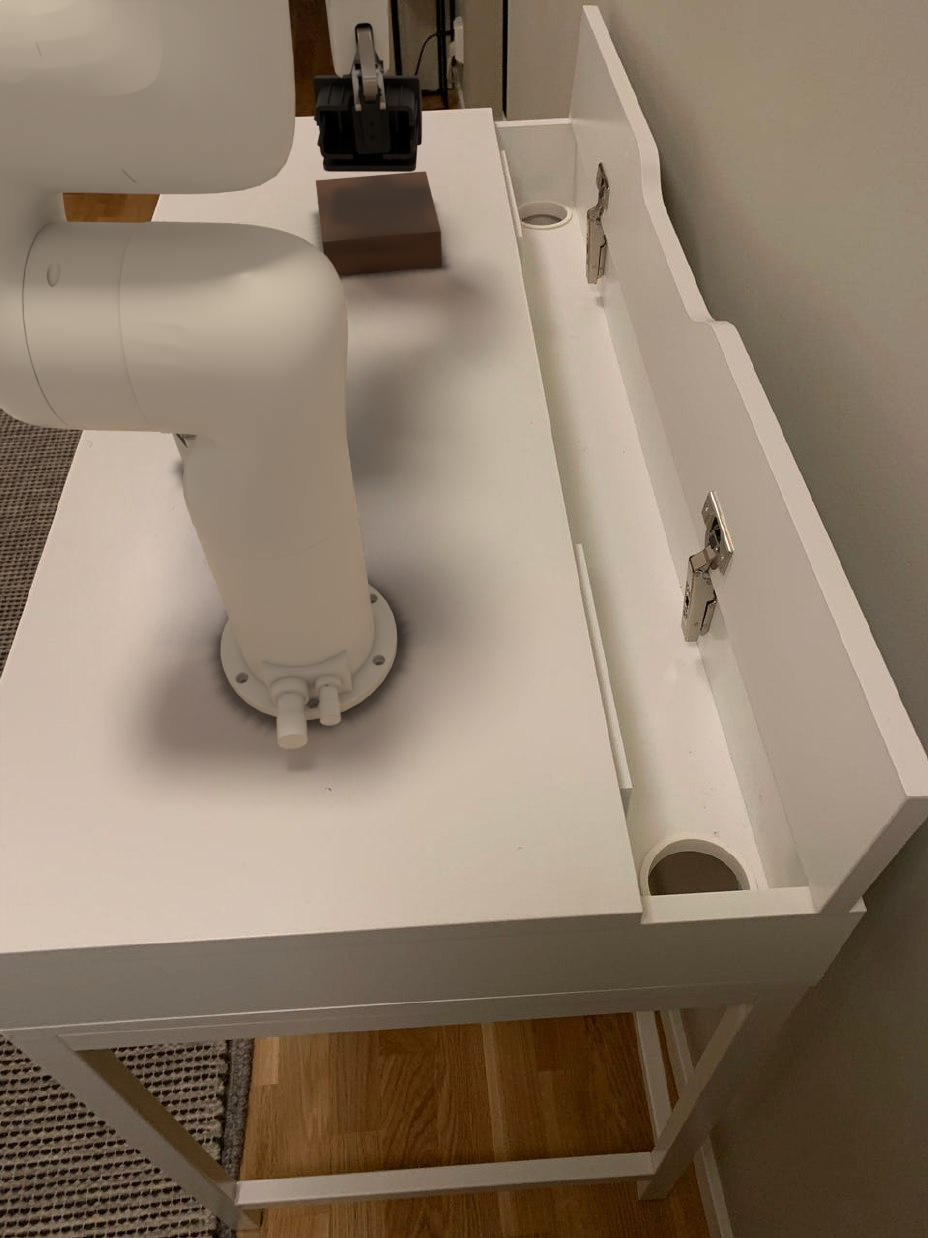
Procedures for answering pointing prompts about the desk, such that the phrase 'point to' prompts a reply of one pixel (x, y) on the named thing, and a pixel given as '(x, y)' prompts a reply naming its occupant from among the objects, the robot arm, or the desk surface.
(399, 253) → the riser
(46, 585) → the desk surface
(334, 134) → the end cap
